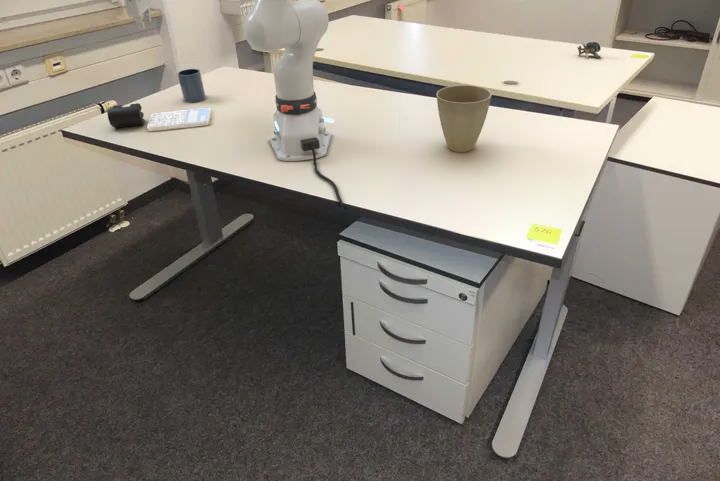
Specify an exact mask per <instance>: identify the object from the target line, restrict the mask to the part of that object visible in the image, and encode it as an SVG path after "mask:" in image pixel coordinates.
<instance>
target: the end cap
mask: <svg viewBox="0 0 720 481" xmlns="http://www.w3.org/2000/svg"><path fill="white" fill-rule="evenodd" d="M142 108H143V107H142V105H141V103H130V105H128V106H123V105H122V104H121V105H120V104H119V105H113V106H112V107H111V108H110V107H109V108H108V109H107V110H106V111H107V119H108V122H109V125H110V126H111V127H113V128H114V129H119V128H128V127H129V128H130V127H138V126H144V124H145V121H146V120H145V118H144V116H145V115H144V112H143V111H142Z"/></svg>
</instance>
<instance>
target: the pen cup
mask: <svg viewBox="0 0 720 481" xmlns="http://www.w3.org/2000/svg"><path fill="white" fill-rule="evenodd" d="M201 73H202V72H201V70H200V69H198V68H186V69H182V70H180V71H178V72H177V77H178V81H179V86H180V90H181V94H182V97H183V102H185V103H190V104H192V103H193V104H194V103H199V102H202V101H204V100H206V99H207V98H206V91H205V87H204V81H203V77H202V74H201Z"/></svg>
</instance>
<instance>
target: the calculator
mask: <svg viewBox="0 0 720 481" xmlns="http://www.w3.org/2000/svg"><path fill="white" fill-rule="evenodd" d="M211 109H212V108H210V107H200V108H199V107H198V108H191V109H189V108H188V109H181V110H180V109H179V110H169V111H160V112H153V113H152V114H151V115H150V117H149V120H148V122H147V125H146V128H147V131H148V132H158V131H166V130H178V129H186V128H195V127H204V126H205V127H206V126H208V125H209V124H210V120H211V114H212V110H211Z"/></svg>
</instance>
